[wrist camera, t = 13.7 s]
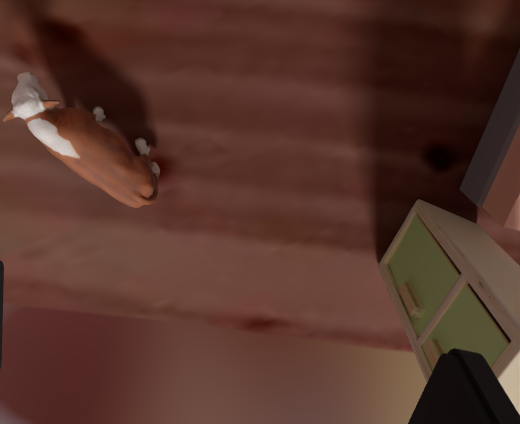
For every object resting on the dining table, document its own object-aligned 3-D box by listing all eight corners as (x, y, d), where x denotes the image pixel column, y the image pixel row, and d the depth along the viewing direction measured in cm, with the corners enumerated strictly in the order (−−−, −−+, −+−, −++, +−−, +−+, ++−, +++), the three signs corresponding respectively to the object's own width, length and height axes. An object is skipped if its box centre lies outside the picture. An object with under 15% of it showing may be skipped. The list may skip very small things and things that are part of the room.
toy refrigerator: (410, 192, 44) (520, 334, 24) (479, 221, 45) (637, 381, 25) (369, 262, 47) (438, 439, 27) (434, 288, 48) (546, 477, 28)
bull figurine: (61, 56, 40) (12, 66, 32) (179, 167, 43) (160, 200, 36) (30, 92, 41) (-24, 110, 34) (148, 198, 45) (123, 236, 37)
